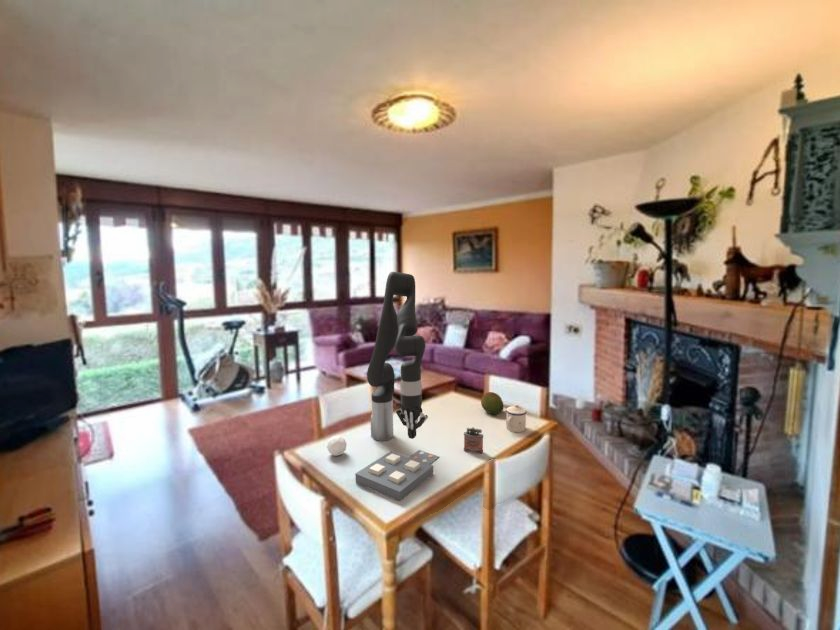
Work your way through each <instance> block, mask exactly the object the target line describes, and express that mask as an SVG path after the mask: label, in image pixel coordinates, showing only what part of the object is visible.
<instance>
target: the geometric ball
mask: <svg viewBox="0 0 840 630" xmlns="http://www.w3.org/2000/svg"><path fill="white" fill-rule="evenodd" d="M326 446H327V447H326V449H327V451H328V453H329V454H331V456H336V457H338V456H340V455H342V454H344V453H345V451H346V450H347V446H348V444H347V441H346V439H345V438H344V437H343V436H341V435H334V436H332V437H330V439H329V440H328V441H327V445H326Z"/></svg>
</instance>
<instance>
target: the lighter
mask: <svg viewBox="0 0 840 630" xmlns="http://www.w3.org/2000/svg"><path fill="white" fill-rule="evenodd" d="M482 432H483V430H482V429H481V428H475V427H474V426H473V427H467V428H466V431H464V432H463V438H464V440H463V452H466V453H469V454H477V455H482V454H484V434H483V433H482Z"/></svg>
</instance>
